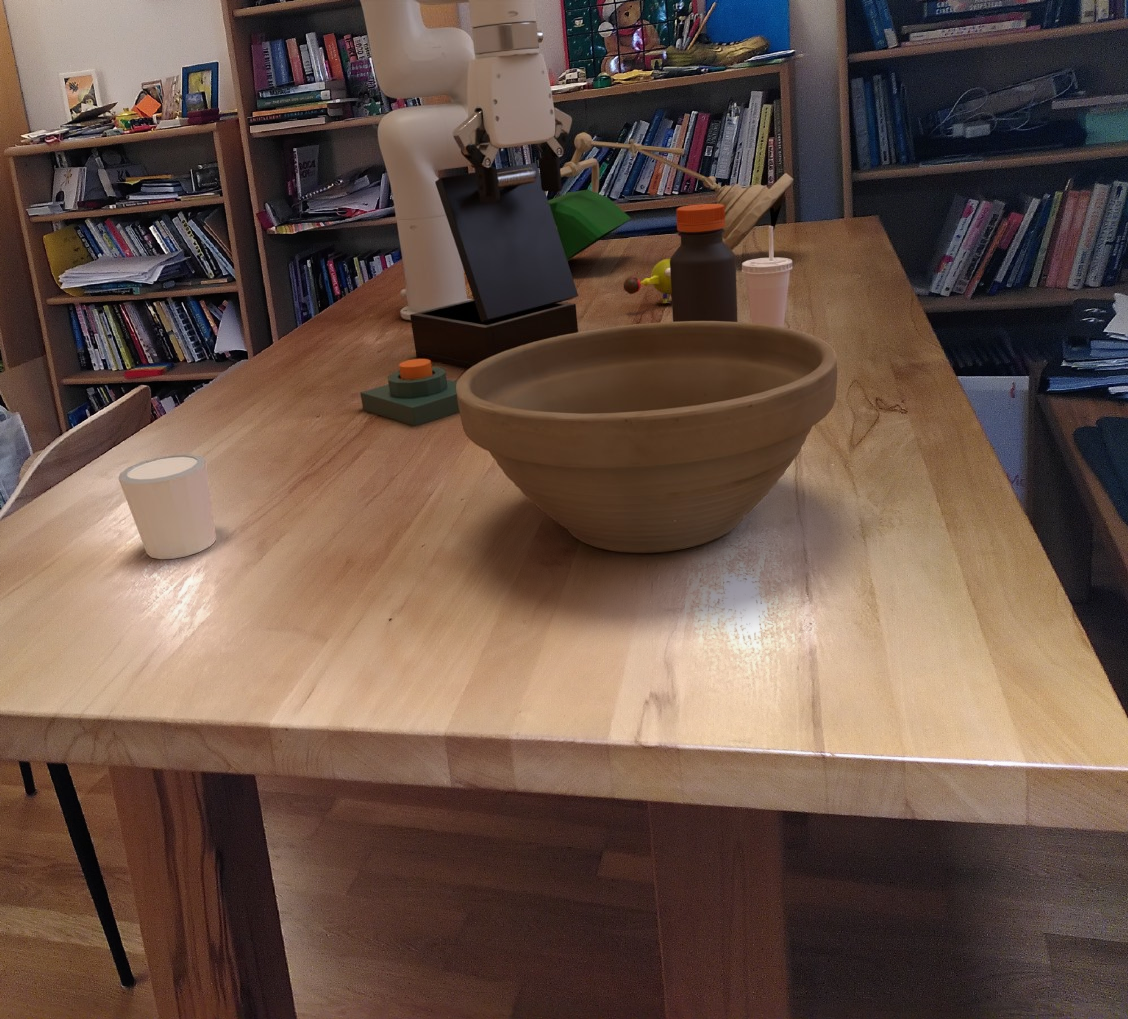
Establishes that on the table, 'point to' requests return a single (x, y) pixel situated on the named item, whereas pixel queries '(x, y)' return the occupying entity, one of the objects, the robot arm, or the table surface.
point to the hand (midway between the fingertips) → (521, 196)
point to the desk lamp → (597, 216)
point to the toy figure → (653, 280)
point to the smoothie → (767, 287)
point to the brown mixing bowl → (650, 425)
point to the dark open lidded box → (484, 331)
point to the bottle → (703, 267)
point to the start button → (415, 369)
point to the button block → (413, 398)
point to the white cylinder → (170, 505)
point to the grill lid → (507, 242)
